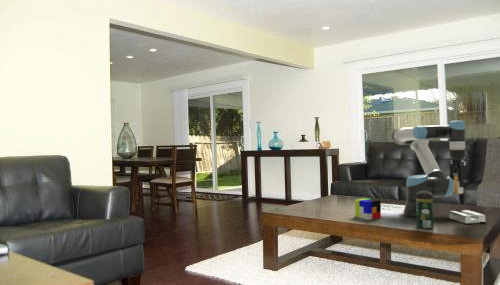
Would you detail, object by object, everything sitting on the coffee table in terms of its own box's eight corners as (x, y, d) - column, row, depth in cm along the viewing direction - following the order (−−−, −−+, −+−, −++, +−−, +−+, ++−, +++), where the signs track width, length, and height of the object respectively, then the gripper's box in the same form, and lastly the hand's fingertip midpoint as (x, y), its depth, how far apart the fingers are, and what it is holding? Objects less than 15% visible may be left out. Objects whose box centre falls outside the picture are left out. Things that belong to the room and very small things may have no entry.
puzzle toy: (367, 219, 222) (367, 202, 222) (355, 216, 231) (355, 199, 231) (380, 217, 227) (380, 200, 226) (368, 214, 235) (367, 198, 235)
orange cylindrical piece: (456, 194, 210) (456, 173, 210) (451, 193, 214) (451, 173, 214) (464, 194, 210) (464, 173, 210) (459, 192, 215) (459, 172, 215)
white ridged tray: (465, 223, 208) (465, 215, 208) (449, 218, 222) (449, 210, 222) (485, 222, 209) (485, 215, 209) (467, 217, 223) (467, 210, 223)
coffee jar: (416, 224, 208) (416, 189, 208) (433, 225, 205) (432, 190, 205) (416, 228, 199) (416, 192, 199) (433, 229, 196) (433, 192, 196)
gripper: (473, 149, 204) (474, 194, 204) (455, 148, 221) (455, 190, 221) (459, 149, 204) (460, 195, 204) (442, 149, 220) (442, 190, 220)
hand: (458, 192), depth 212 cm, fingers closed on orange cylindrical piece, 3 cm apart
